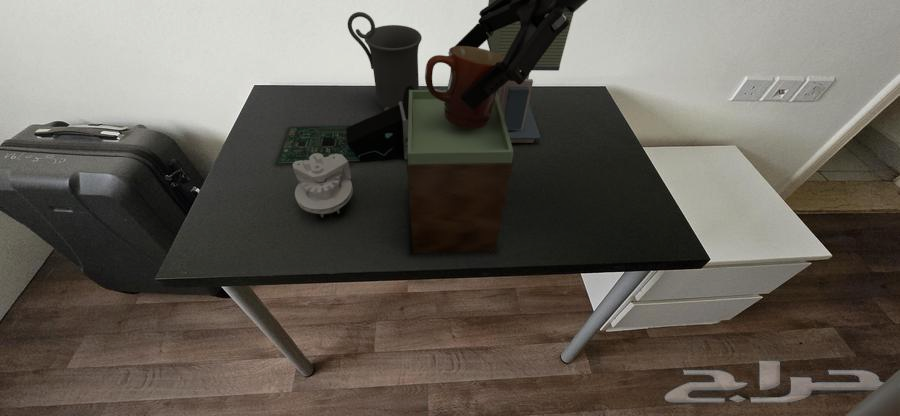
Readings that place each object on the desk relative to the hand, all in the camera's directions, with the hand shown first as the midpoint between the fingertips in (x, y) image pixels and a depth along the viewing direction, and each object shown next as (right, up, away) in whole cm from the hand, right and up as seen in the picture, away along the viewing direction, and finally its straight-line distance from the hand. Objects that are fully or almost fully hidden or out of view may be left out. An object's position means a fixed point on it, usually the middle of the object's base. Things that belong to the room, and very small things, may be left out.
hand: (459, 79), depth 57 cm
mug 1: (-17, +8, +46) cm, 50 cm away
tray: (-1, -7, +3) cm, 8 cm away
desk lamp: (+14, +2, +41) cm, 44 cm away
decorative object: (-17, -6, +32) cm, 37 cm away
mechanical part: (-27, -19, +20) cm, 39 cm away
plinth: (-1, -22, +19) cm, 29 cm away
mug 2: (-1, -6, +1) cm, 7 cm away
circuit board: (-32, -4, +34) cm, 47 cm away
